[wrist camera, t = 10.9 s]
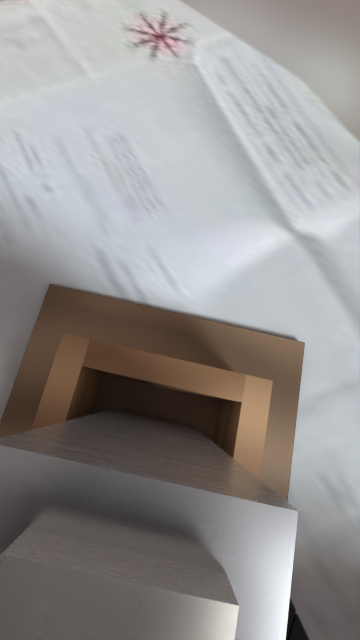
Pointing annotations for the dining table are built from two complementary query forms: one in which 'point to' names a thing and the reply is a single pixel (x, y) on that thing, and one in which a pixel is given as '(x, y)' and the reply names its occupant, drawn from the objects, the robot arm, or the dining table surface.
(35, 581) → the square bit
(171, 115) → the dining table surface
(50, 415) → the square sleeve
